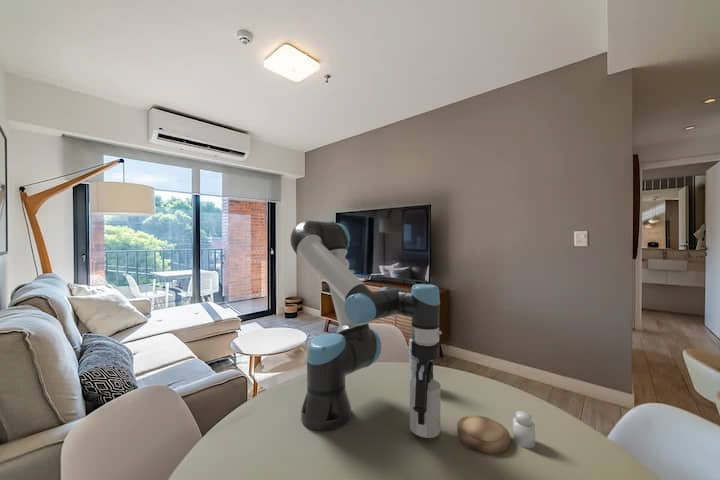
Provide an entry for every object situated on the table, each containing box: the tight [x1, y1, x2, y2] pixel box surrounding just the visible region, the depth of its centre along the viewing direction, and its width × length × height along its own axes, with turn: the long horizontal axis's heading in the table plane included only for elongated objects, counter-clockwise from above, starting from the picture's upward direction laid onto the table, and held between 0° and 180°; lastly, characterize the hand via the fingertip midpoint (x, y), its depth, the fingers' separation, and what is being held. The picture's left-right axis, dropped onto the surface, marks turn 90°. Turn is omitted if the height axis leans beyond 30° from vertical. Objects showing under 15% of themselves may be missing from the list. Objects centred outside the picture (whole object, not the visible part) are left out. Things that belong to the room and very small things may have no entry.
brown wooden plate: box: [456, 415, 511, 455], centre depth 77 cm, size 13×13×2 cm
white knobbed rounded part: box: [512, 410, 536, 450], centre depth 75 cm, size 5×5×7 cm
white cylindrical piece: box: [409, 378, 441, 439], centre depth 78 cm, size 8×8×12 cm
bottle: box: [407, 338, 419, 382], centre depth 107 cm, size 7×7×20 cm
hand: (424, 424), depth 78 cm, fingers closed on white cylindrical piece, 8 cm apart
